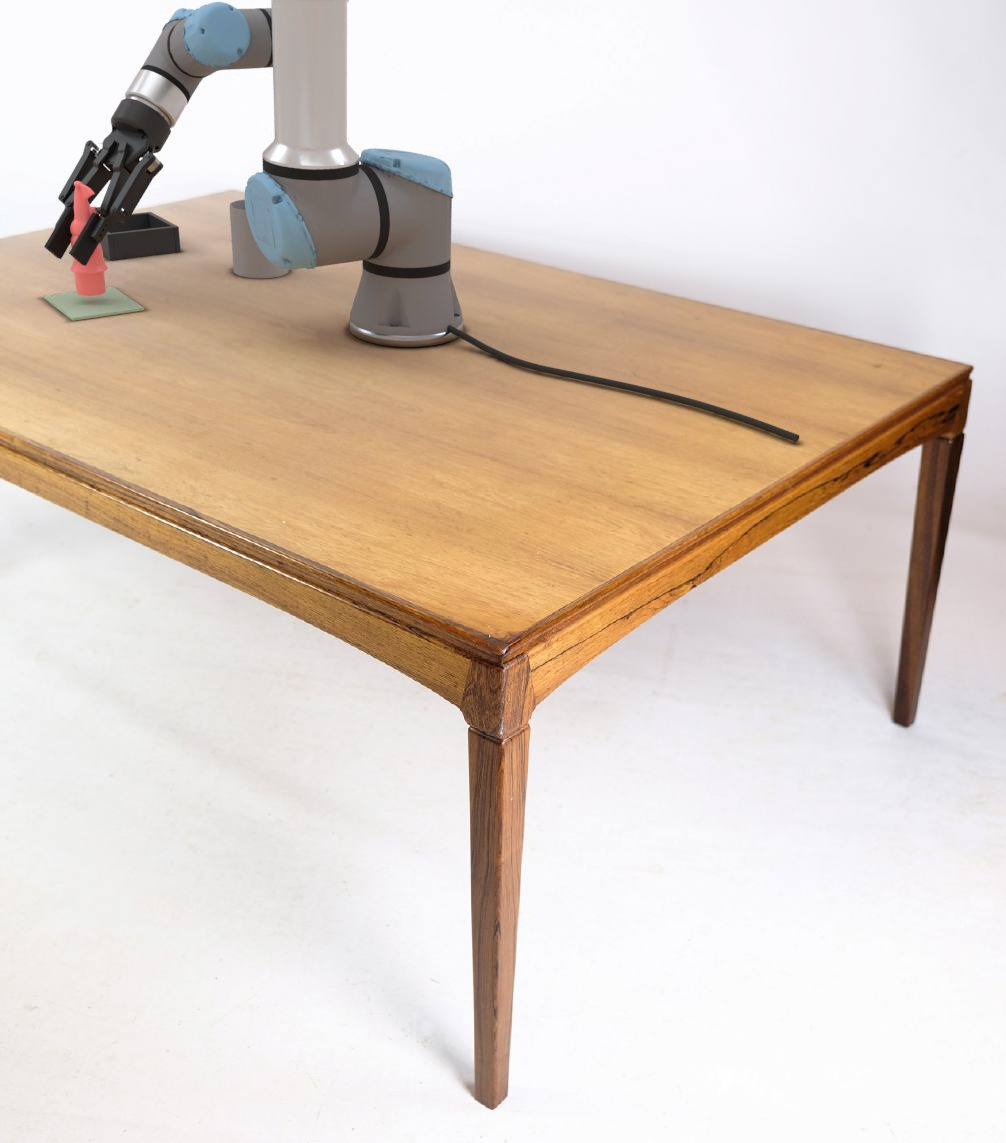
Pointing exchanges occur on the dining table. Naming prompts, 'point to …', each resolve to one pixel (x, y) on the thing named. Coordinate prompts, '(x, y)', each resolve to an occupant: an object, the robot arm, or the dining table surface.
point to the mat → (93, 304)
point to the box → (141, 237)
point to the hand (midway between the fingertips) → (65, 256)
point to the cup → (248, 247)
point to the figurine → (92, 274)
